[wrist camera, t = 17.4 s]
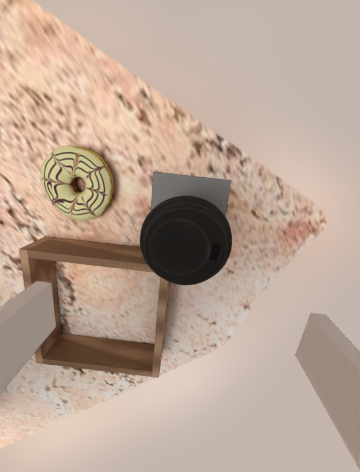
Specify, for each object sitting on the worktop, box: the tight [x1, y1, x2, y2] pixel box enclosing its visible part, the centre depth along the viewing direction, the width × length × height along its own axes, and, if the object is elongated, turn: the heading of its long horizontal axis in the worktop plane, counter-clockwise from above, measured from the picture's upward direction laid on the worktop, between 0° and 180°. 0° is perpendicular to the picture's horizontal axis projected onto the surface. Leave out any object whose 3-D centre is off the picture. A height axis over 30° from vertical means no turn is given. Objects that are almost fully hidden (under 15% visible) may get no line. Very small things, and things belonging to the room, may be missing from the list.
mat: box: [151, 172, 231, 216], centre depth 34 cm, size 12×12×1 cm
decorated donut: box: [41, 146, 113, 221], centre depth 32 cm, size 10×11×4 cm
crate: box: [19, 236, 170, 377], centre depth 37 cm, size 22×22×6 cm
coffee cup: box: [140, 196, 232, 285], centre depth 27 cm, size 9×9×15 cm
